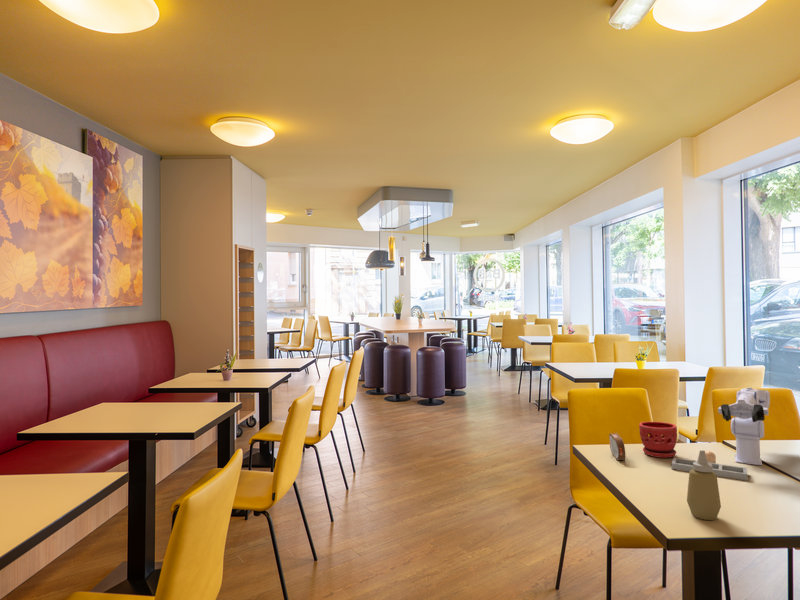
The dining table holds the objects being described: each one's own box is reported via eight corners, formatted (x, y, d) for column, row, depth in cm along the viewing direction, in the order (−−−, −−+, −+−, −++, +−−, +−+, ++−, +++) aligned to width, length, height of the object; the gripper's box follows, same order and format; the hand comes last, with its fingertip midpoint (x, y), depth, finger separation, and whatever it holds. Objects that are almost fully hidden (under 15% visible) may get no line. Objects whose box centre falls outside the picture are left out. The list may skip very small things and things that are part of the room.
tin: (626, 463, 180) (625, 440, 180) (617, 463, 180) (616, 440, 180) (616, 451, 194) (616, 430, 194) (608, 451, 195) (608, 430, 195)
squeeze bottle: (680, 510, 137) (678, 447, 137) (707, 509, 138) (705, 446, 138) (700, 523, 129) (698, 455, 129) (728, 522, 129) (727, 454, 130)
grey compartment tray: (673, 463, 179) (673, 457, 179) (746, 473, 167) (746, 467, 167) (671, 469, 172) (671, 463, 173) (747, 480, 160) (747, 474, 160)
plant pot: (678, 452, 192) (677, 422, 192) (676, 461, 181) (675, 429, 181) (641, 448, 199) (641, 418, 199) (638, 456, 188) (637, 425, 188)
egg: (703, 461, 182) (703, 449, 182) (716, 462, 179) (715, 450, 179) (702, 463, 178) (702, 451, 178) (715, 465, 176) (715, 453, 176)
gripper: (719, 395, 181) (713, 406, 171) (767, 395, 171) (763, 407, 161) (722, 413, 181) (716, 426, 171) (770, 415, 171) (767, 428, 161)
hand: (739, 418), depth 166 cm, fingers open, 7 cm apart
